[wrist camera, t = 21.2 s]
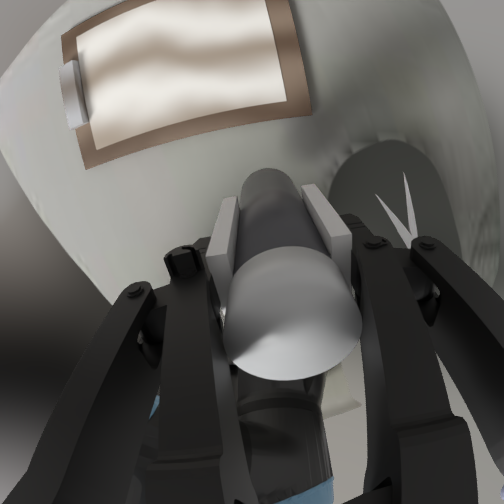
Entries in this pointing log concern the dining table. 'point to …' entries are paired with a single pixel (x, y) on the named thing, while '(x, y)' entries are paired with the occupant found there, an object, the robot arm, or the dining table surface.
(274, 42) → the clipboard
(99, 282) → the dining table surface
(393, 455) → the robot arm
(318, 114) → the dining table surface
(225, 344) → the marker
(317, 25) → the dining table surface
